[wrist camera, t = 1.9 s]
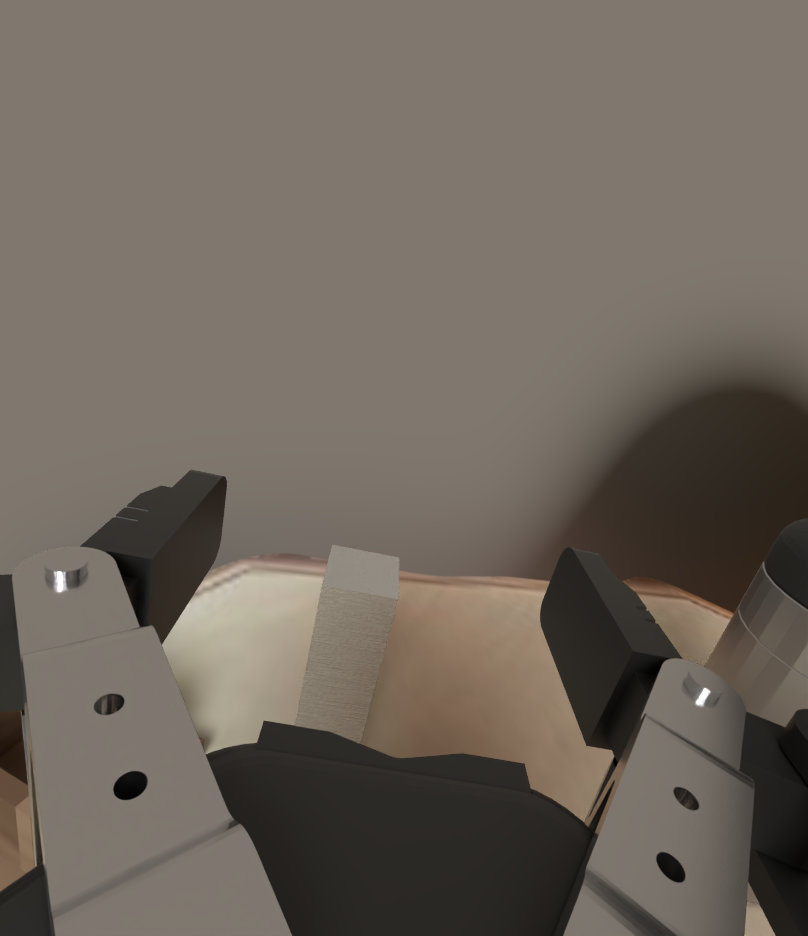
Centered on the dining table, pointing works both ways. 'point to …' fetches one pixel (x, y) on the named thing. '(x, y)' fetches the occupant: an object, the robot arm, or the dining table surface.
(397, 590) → the grey rectangular block
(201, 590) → the dining table surface
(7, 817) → the wooden socket base
